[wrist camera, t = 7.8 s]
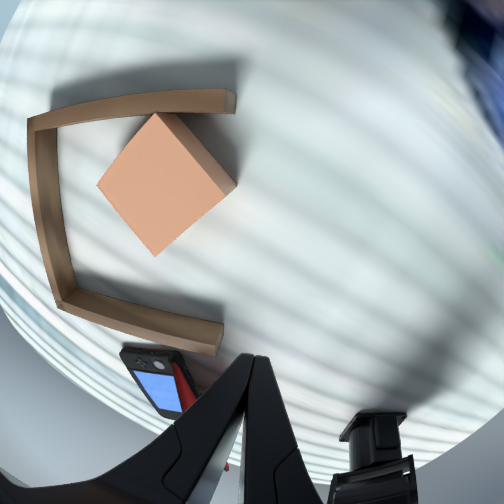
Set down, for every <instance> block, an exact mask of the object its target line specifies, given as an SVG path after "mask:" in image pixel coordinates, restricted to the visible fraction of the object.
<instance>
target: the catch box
mask: <svg viewBox="0 0 504 504" xmlns="http://www.w3.org/2000/svg"><path fill="white" fill-rule="evenodd" d="M235 105H236V94H234V93H232V92H231V91H229V90H227V89H183V90H168V91H156V92H147V93H138V94H131V95H124V96H117V97H111V98H105V99H100V100H95V101H90V102H85V103H81V104H77V105H72V106H68V107H64V108H61V109H57V110H53V111H50V112H46V113H43V114H40V115H37V116H33V117H30V118H27V155H28V172H29V183H30V192H31V200H32V207H33V214H34V220H35V225H36V231H37V236H38V240H39V245H40V249H41V254H42V258H43V262H44V266H45V269H46V273H47V277H48V280H49V283H50V287H51V290H52V293H53V296H54V299H55V302H56V305H57V308H58V309H60V310H63V311H65V312H68V313H70V314H73V315H75V316H78V317H81V318H83V319H86V320H89V321H91V322H94V323H97V324H100V325H102V326H105V327H108V328H111V329H114V330H117V331H120V332H123V333H126V334H130V335H133V336H136V337H139V338H143V339H146V340H150V341H153V342H157V343H160V344H164V345H168V346H171V347H175V348H179V349H183V350H187V351H191V352H196V353H200V354H204V355H209V356H214V357H215V356H216V354H217V351H218V348H219V346H220V343H221V340H222V338H223V331H224V324H221V323H215V322H210V321H205V320H200V319H196V318H191V317H186V316H182V315H177V314H173V313H169V312H164V311H160V310H156V309H152V308H148V307H144V306H140V305H136V304H132V303H129V302H125V301H121V300H118V299H114V298H110V297H107V296H103V295H100V294H97V293H93V292H90V291H87V290H83V289H80V288H77V285H76V281H75V277H74V273H73V269H72V265H71V260H70V255H69V251H68V246H67V240H66V235H65V229H64V223H63V216H62V209H61V201H60V191H59V180H58V166H57V127H62V126H67V125H73V124H78V123H84V122H90V121H97V120H104V119H112V118H121V117H131V116H143V115H153V114H154V113H168V114H184V113H215V114H235Z"/></svg>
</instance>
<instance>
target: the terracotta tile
mask: <svg viewBox="0 0 504 504" xmlns="http://www.w3.org/2000/svg"><path fill="white" fill-rule="evenodd" d="M97 187H98V188H99V189H100V191H101V192H102V193H103V194H104V196H105V197H106V198H107V200H108V201H109V202H110V203H111V205H112V206H113V207H114V208H115V210H116V211H117V212H118V214H119V215H120V216H121V217H122V218H123V220H124V221H125V222H126V223H127V225H128V226H129V227H130V228H131V229H132V231H133V232H134V233H135V234H136V235H137V237H138V238H139V239H140V240H141V241H142V243H143V244H144V245H145V246H146V247H147V248H148V250H149V251H150V252H151V253H152V254H153V255H154V256H155V257H156V256H157V255H158V254H159V253H160V252H161V251H162V250H164V249H165V248H166V247H167V246H168V245H169V244H170V243H171V242H173V241H174V240H175V239H176V238H177V237H178V236H179V235H181V234H182V233H183V232H184V231H185V230H186V229H188V228H189V227H190V226H191V225H192V224H193V223H195V222H196V221H197V220H198V219H199V218H201V217H202V216H203V215H204V214H205V213H207V212H208V211H209V210H210V209H211V208H213V207H214V206H215V205H216V204H217V203H219V202H220V201H221V200H222V199H224V198H225V197H226V196H227V195H228V194H229V193H230V192H231V191H232V190H234V189H235V188H236V187H237V185H236V184H235V182H234V181H233V180H232V179H231V178H230V176H229V175H228V174H227V173H226V172H225V170H224V169H223V168H222V167H221V166H220V164H219V163H218V162H217V161H216V160H215V159H214V157H213V156H212V155H211V154H210V153H209V151H208V150H207V149H206V148H205V147H204V146H203V144H202V143H201V142H200V141H199V140H198V139H197V137H196V136H195V135H194V134H193V133H192V132H191V130H190V129H189V128H188V127H187V126H186V125H185V124H184V122H183V121H182V120H181V119H180V118H179V117H178V116H177V114H168V113H154V114H153V115H152V117H151V118H150V119H149V120H148V121H147V122H146V123H145V124H144V125H143V127H142V128H141V129H140V130H139V131H138V132H137V133H136V135H135V136H134V137H133V138H132V139H131V140H130V142H129V143H128V144H127V145H126V146H125V148H124V149H123V150H122V151H121V153H120V154H119V155H118V156H117V158H116V159H115V160H114V162H113V163H112V164H111V165H110V167H109V168H108V169H107V171H106V172H105V174H104V175H103V176H102V178H101V179H100V180H99V182H98V183H97Z"/></svg>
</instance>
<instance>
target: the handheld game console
mask: <svg viewBox="0 0 504 504" xmlns="http://www.w3.org/2000/svg"><path fill="white" fill-rule="evenodd" d="M119 355H120V358H121V359H122V361H123V363H124V364H125V366H126V367H127V369H128V371H129V372H130V374H131V376H132V377H133V379H134V380H135V382H136V383H137V385H138V386H139V388H140V389H141V390H142V392H143V393H144V395H145V396H146V397H147V399H148V400H149V402H150V403H151V404H152V406H153V407H154V408H155V409H156V411H157V412H158V413H159V414H160V415H161V416H162V417H164V418H167V419H172V420H177V419H178V418H179V417H180V416H181V415H182V414H183V413H184V412H185V411H186V410H187V409H188V408H189V407H190V406H191V405H192V404H193V403H194V402H195V401H196V400H197V399H198V398H199V397H200V396H199V395H198V393H197V391H196V389H195V385H194V380H193V379H192V377H191V375H190V373H189V371H188V369H187V367H186V365H185V363H184V362H185V361H184V359H183V357H182V355H181V354H180V353H179V352H178V351H173V352H171V351H160V350H149V349H139V348H129V347H124V348H123V349H122V350H121V352H120V353H119ZM224 470H225V471H228V470H229V466H228V463H227V462H226V465H225V467H224Z"/></svg>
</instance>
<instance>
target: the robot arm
mask: <svg viewBox="0 0 504 504" xmlns="http://www.w3.org/2000/svg"><path fill="white" fill-rule="evenodd" d="M244 413H245V414H244ZM243 417H244V422H243V436H242V451H241V465H240V481H239V494H238V504H324V503H323V502H322V500H321V499H320V496H319V494H318V493H317V491H316V489H315V487H314V485H313V483H312V481H311V479H310V476H309V474H308V472H307V469H306V467H305V464H304V462H303V459H302V456H301V453H300V450H299V448H298V445H297V442H296V439H295V436H294V433H293V430H292V427H291V424H290V421H289V418H288V415H287V412H286V409H285V405H284V402H283V399H282V396H281V393H280V390H279V387H278V384H277V381H276V378H275V375H274V372H273V368H272V365H271V362H270V359H269V357H267V356H261V355H256V356H254V354H249V353H241V354H240V355H239V356H238V357H237V358H236V359H235V360H234V361H233V362H232V364H231V365H230V366H229V367H228V368H227V369H226V370H225V371H224V372H223V373H222V374H221V375H220V376H219V377H218V378H217V379H216V380H215V381H214V383H213V384H212V385H211V386H210V387H209V388H208V389H207V390H206V391H205V392H204V393H203V394H202V395H201V396H200V397H199V398H198V399H197V400H196V401H195V402H194V403H193V404H192V405H191V406H190V407H189V408H188V409H187V410H186V411H185V412H184V413H183V414H182V415H181V416H180V417H179V418H178V419H177V420H176V421H175V422H174V423H173V424H174V425H173V424H171V425H170V426H169V427H168V428H167V429H166V430H165V431H164V432H163V433H162V434H161V435H159V436H158V437H157V438H156V439H155V440H154V441H152V442H151V443H150V444H149V445H147V446H146V447H144V448H143V449H142V450H140V451H139V452H138V453H136V454H135V455H133V456H132V457H130V458H129V459H127V460H125V461H124V462H122V463H121V464H119V465H118V466H116V467H114V468H113V469H111V470H109V471H108V472H106V473H104V474H102V475H100V476H98V477H96V478H93V479H90V480H86V481H82V482H76V483H70V484H63V485H55V486H46V487H35V488H31V487H30V486H28V485H26V484H25V483H23V482H22V481H20V480H18V479H17V478H15V477H14V476H12V475H11V474H9V473H8V472H6V471H5V470H4V469H2V468H0V504H209V503H210V501H211V499H212V496H213V494H214V492H215V489H216V487H217V485H218V482H219V480H220V477H221V475H222V472H223V470H224V467H225V465H226V462H227V460H228V457H229V455H230V452H231V450H232V447H233V444H234V442H235V439H236V437H237V434H238V431H239V429H240V426H241V423H242V420H243ZM406 418H407V413H380V414H357V415H356V416H355V417H354V418H353V420H352V421H351V423H350V424H349V425H348V427H347V428H346V429H345V431H344V432H343V433H342V435H341V436H340V437H339V441H340V442H349V458H350V472H346V473H341V474H339V473H336V474H333V479H332V480H331V486H330V491H329V496H328V501H327V504H418V493H417V483H416V475H415V467H414V460H413V454H411V455H408V457H405V458H402V452H401V440H400V434H399V428H398V426H399V425H400V424H401V423H402V422H403V421H404V420H405V419H406ZM408 471H410V473H409V474H405V475H403V473H405V472H408Z"/></svg>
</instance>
